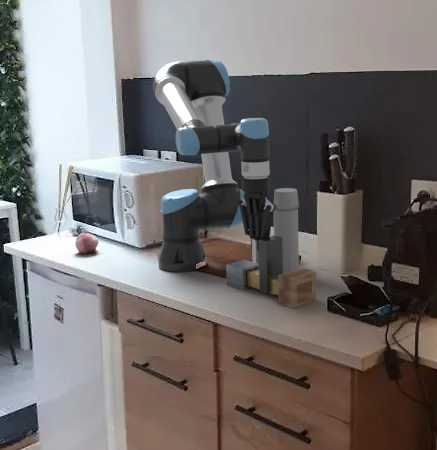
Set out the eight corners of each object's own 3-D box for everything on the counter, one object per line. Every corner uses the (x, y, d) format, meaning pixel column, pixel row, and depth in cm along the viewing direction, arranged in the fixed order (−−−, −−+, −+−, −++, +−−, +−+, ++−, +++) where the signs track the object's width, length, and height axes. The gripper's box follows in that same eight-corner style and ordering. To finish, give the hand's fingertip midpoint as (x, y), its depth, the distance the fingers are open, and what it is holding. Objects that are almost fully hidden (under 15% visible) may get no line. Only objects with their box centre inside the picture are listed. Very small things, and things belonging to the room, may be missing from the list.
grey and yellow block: (225, 280, 205) (224, 231, 202) (241, 275, 209) (239, 227, 206) (277, 297, 190) (276, 243, 186) (293, 291, 194) (293, 239, 190)
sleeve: (226, 284, 205) (226, 264, 203) (244, 279, 209) (243, 259, 208) (243, 290, 200) (242, 269, 198) (261, 284, 204) (260, 264, 202)
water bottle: (298, 276, 209) (297, 192, 204) (272, 276, 211) (270, 192, 205) (301, 267, 218) (300, 186, 212) (275, 267, 220) (274, 186, 214)
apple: (73, 256, 244) (69, 235, 245) (93, 254, 249) (89, 233, 250) (84, 253, 238) (81, 231, 239) (104, 250, 243) (101, 229, 244)
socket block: (278, 303, 188) (278, 275, 186) (302, 295, 193) (302, 267, 192) (292, 308, 184) (292, 279, 182) (316, 299, 190) (316, 271, 188)
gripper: (229, 176, 195) (232, 259, 200) (262, 180, 185) (264, 268, 191) (249, 172, 200) (251, 254, 205) (282, 177, 190) (284, 263, 195)
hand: (257, 261), depth 198 cm, fingers closed
